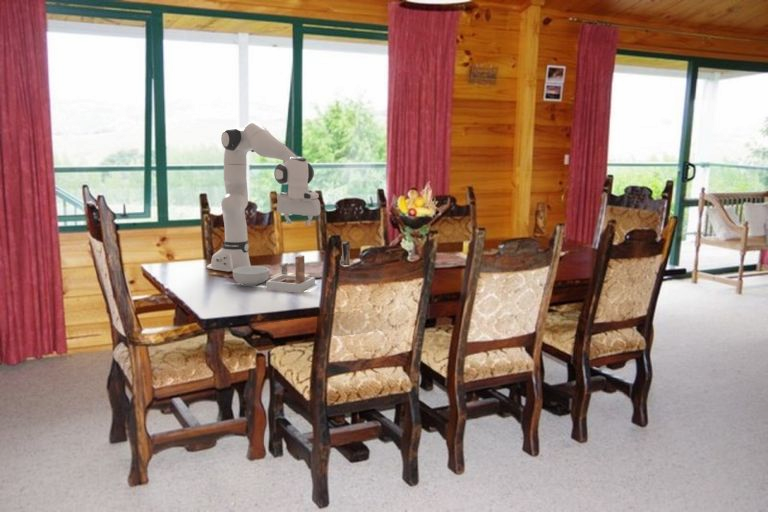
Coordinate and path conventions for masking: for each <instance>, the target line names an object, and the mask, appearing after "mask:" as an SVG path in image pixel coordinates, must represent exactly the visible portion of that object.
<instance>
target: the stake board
mask: <svg viewBox="0 0 768 512" xmlns="http://www.w3.org/2000/svg"><path fill="white" fill-rule="evenodd" d="M288 266H289V264H288V262H285V263H282V264H280V269H281V271H280V272H277V273H276V274H274V275H271V276H269V277H268V279H269V278H271V279H272V278H275V277H277V276H279V275H282V274H283V275H294V276H296V272H288ZM310 276H311V274H309V273H305V277H310Z"/></svg>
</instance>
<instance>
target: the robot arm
mask: <svg viewBox="0 0 768 512" xmlns="http://www.w3.org/2000/svg"><path fill="white" fill-rule="evenodd" d="M220 140H221V144H222V146H223V148H224V154H223V181H224V187H225V188H224V189H225V195H224V196H223V197H222V199H221V211H222V217H223V218H222V219H223V223H224V224H223V225H224V240H223V241H222V242H221V243H220V245H221V248H220V249H219V250H218V251H216V252H215V253H214V254H213V255H212V256H211V261H210V263H209V264H207V266H206V269H210V270H214V271H222V272H233V269H235V268H238V267H244V266H252V265H251V262H250V260H251V259H250V256H249V239H248V223H247V219H246V212H245V210H246V208H247V207H248V205H249V194H248V193H249V192H248V191H249V190H248V182H247V165H248V163H247V154H248V153H249V152H251V153H256V154H257V155H258V156H260V157H263V158H269V159H270V158H271V159H277V160H281V161H282V163H278V164H277V165H276V166H275V169H274V174H273V175H274V179H275V181H276V182H277V183H278V184H280V185H288V187H287V188H288V189H287V192H279V193H278V194H277V197H276V199H277V202H276V212H277V213H278V214H283V216H284V218H285V221H286V224H287V225H291V224H292V219H290V217H289V216H290V215H298V216H307V218H308V220H307V221H305V226H308V227H309V226H311V222H312V219H313V217H318V216H320V215H321V202H320V200H319V199H318V198H319V197H320V196H319V195H320V194H319V193H318V192H316V191H313V190H310V189H309V184H310V183H311V181H313V179H314V176H315V170H314V168H313V166H312V165H311V163H309V162H308V159H306V158H305V157H303V156H299V155H298V154H297V153H296V152H295V151H294V150H292V149H291V147H289V146H287V145H286V144H285V143H283V142H282V141H280V140H278V139H277V138H276V137H275V136H274V135H272V134H271V132H270V131H269V130H268V129H267V127H265V126H263V124H261V123H260V122H257V121H251V122H250V121H249V122H248V123H247V124H246V125H245V126H244V127H237V128H233V127H230V128H226V129H225V130H224V131H223V132H222V134H221V139H220Z"/></svg>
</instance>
